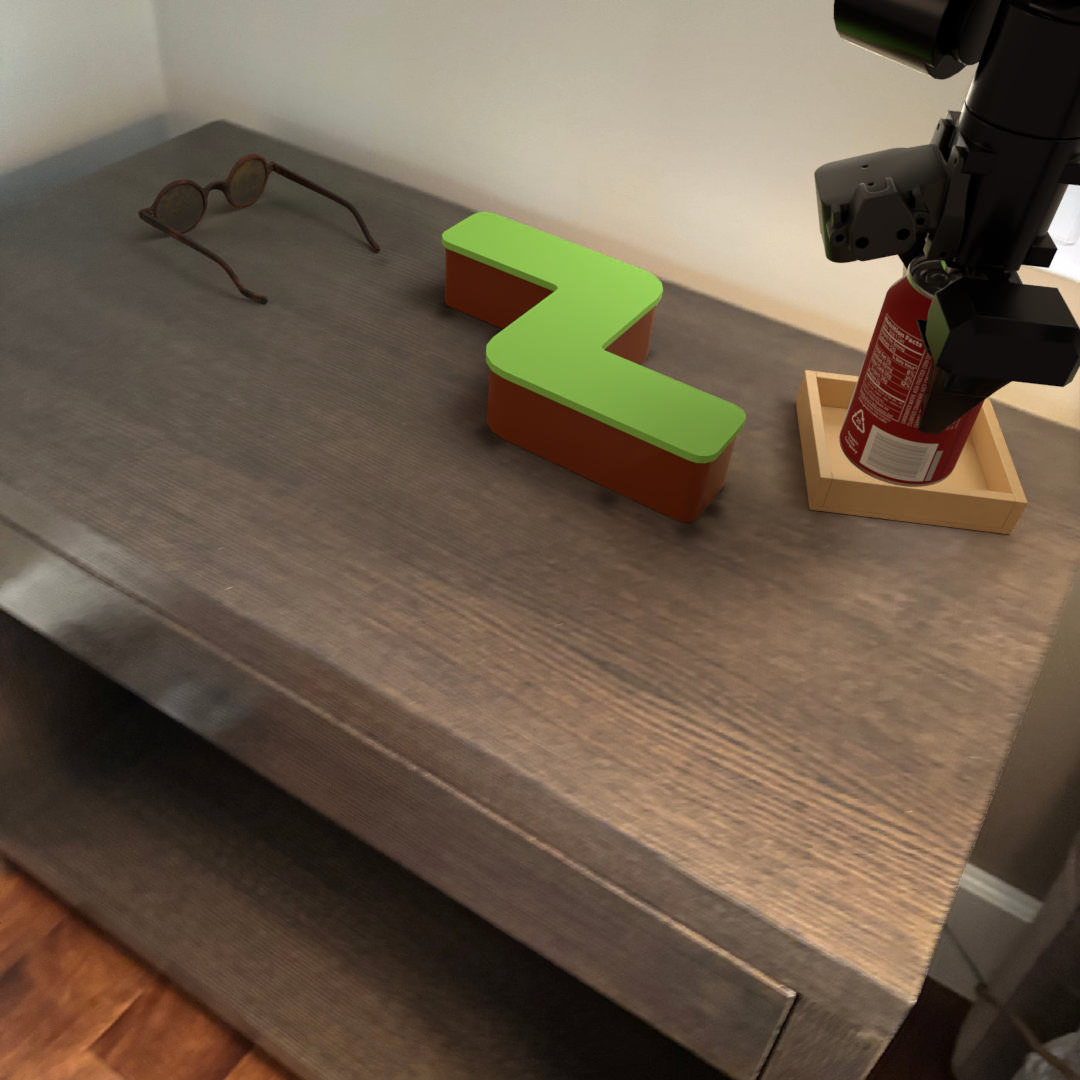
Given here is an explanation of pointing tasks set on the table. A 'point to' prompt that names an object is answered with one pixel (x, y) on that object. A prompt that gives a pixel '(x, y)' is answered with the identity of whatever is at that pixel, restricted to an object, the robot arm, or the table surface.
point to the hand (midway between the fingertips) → (916, 393)
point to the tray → (958, 501)
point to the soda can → (902, 391)
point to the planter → (586, 366)
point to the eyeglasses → (242, 187)
